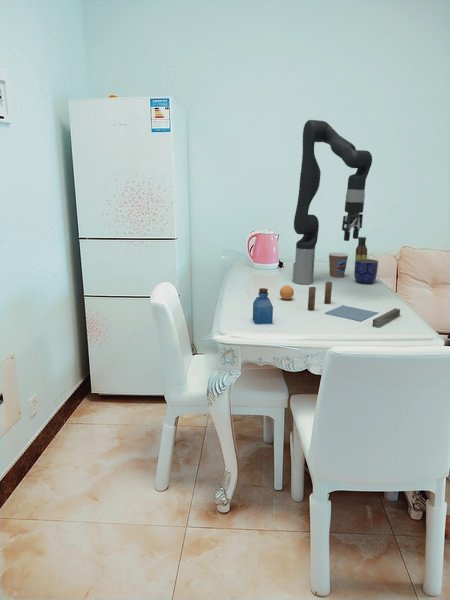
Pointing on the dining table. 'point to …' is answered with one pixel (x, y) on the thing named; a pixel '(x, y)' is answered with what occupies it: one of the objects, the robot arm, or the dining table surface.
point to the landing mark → (351, 313)
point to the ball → (286, 292)
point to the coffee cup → (337, 264)
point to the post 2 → (328, 293)
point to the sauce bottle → (361, 249)
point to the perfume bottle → (262, 308)
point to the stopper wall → (386, 317)
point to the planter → (365, 270)
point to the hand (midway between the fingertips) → (350, 239)
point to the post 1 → (311, 298)
